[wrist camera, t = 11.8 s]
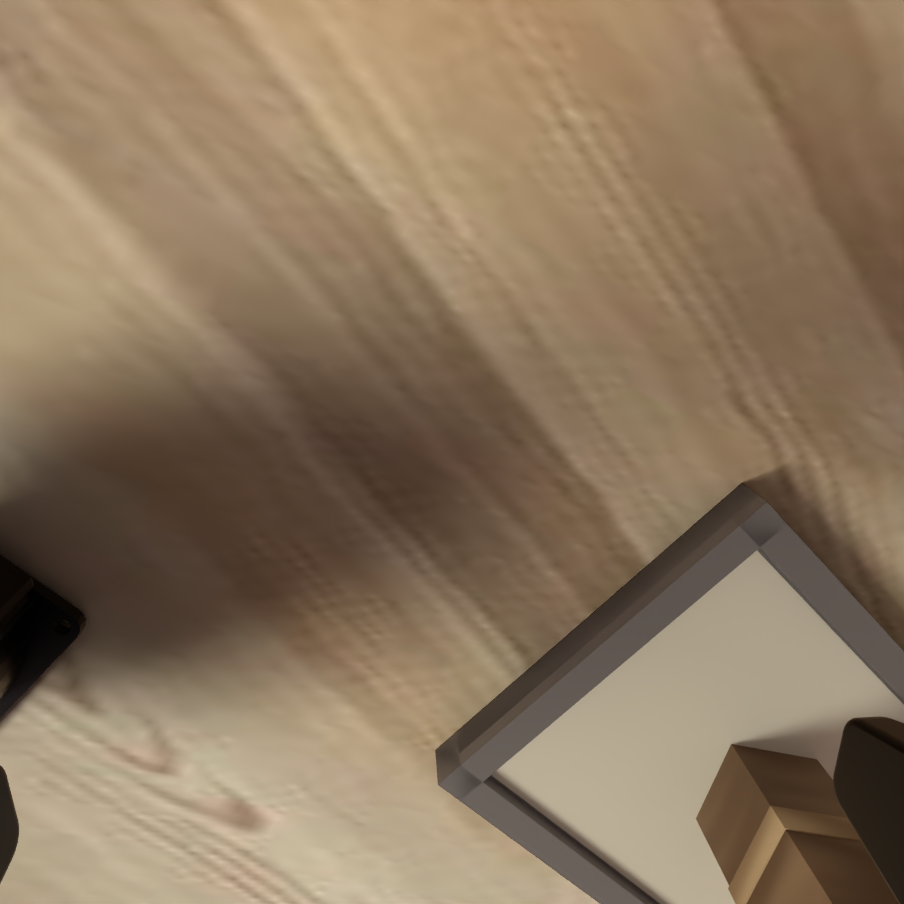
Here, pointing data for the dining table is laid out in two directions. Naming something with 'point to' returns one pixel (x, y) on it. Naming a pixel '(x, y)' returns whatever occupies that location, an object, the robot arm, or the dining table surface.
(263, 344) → the dining table surface
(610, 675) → the felt tray
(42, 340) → the dining table surface
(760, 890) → the wooden block
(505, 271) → the dining table surface
